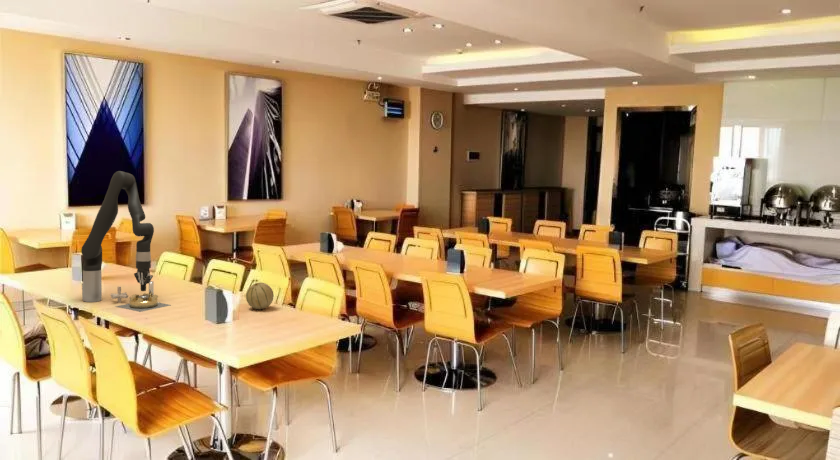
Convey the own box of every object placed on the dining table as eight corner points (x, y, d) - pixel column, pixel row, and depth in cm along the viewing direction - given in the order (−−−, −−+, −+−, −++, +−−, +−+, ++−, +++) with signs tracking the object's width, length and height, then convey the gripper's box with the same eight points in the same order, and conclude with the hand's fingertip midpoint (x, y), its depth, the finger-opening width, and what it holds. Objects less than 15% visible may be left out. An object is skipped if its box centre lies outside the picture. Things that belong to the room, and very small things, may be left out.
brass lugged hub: (133, 302, 355) (133, 280, 354) (160, 302, 357) (160, 280, 356) (126, 308, 341) (125, 285, 340) (154, 308, 343) (154, 285, 342)
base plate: (114, 309, 345) (114, 305, 345) (146, 302, 363) (146, 299, 363) (140, 314, 336) (140, 311, 336) (171, 307, 353) (171, 304, 353)
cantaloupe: (278, 307, 364) (278, 281, 363) (265, 313, 350) (265, 285, 349) (254, 304, 368) (254, 278, 367) (240, 310, 354) (240, 283, 353)
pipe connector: (133, 303, 359) (133, 286, 358) (120, 307, 350) (120, 289, 349) (118, 302, 362) (118, 284, 361) (105, 305, 352) (104, 287, 351)
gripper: (129, 259, 354) (129, 290, 356) (145, 261, 348) (145, 293, 350) (141, 257, 361) (141, 288, 363) (157, 260, 355) (157, 291, 356)
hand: (143, 291), depth 356 cm, fingers closed
